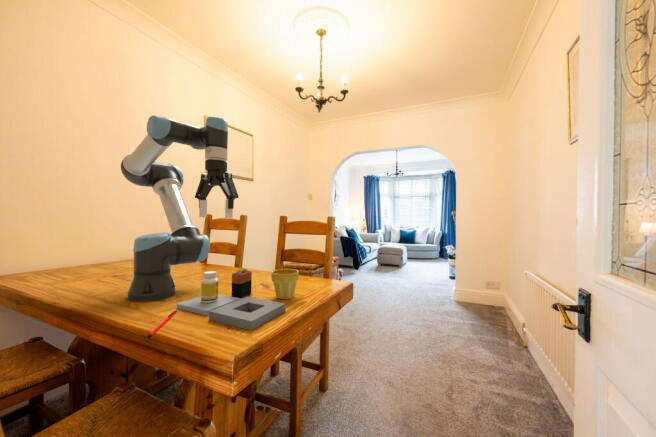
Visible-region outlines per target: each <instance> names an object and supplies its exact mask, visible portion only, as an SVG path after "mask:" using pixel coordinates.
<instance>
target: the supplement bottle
mask: <svg viewBox="0 0 656 437" xmlns="http://www.w3.org/2000/svg"><path fill="white" fill-rule="evenodd" d="M218 294H219V278H218V277H217V271H216V270H215V271H214V270H212V271H211V270H210V271H209V270H208V271H204V272H203V278H202V279H201V282H200V296H201V302H203V303H211V302H215V301H217V300H218Z"/></svg>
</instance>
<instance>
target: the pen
mask: <svg viewBox="0 0 656 437" xmlns="http://www.w3.org/2000/svg"><path fill="white" fill-rule="evenodd" d="M177 313H178V310H174V311H172V312H171V313H170V314H169V315H167V317H166V318H165V319H164V320H163V321H162V322H161V323H159V324H158V325H157V327H155V328H154V329H153V330H152V331H151V332H150V333H149V334H148V335H147V337H146V340H148V339H150V338H152V337H153V336H154V335H155V334H156V333H157V332H158V331H160V330H161V328H162V327H164V326H165V325H166V324H167V323H168V322H169V321H170V320H171V319H172V318H173V317H174V316H175V315H176V314H177Z"/></svg>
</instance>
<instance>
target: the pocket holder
mask: <svg viewBox="0 0 656 437" xmlns="http://www.w3.org/2000/svg"><path fill="white" fill-rule="evenodd" d="M247 311H251V312H247ZM285 312H286V303H285V302H279V301H272V300H268V299H263V298H262V299H261V298H257V297H251V296H246V297H243V298H241V299H240V300H237V301H235V302H232V303H229V304H227V305H224V306H222V307H219V308H217V309H214V310H211V311H209V315H208V321H212V322H216V323H220V324H224V325H228V326H233V327H235V328H240V329H241V328H242V329H244V330H245V329H246V330H250V331H253V330H255V329H257V328H258V327H260V326H262V325H263V324H265V323H268V322H269V321H271V320H273V319H274V318H276V317H278V316H279V315H281V314H283V313H285Z"/></svg>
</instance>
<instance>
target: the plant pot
mask: <svg viewBox="0 0 656 437" xmlns="http://www.w3.org/2000/svg"><path fill="white" fill-rule="evenodd" d="M299 273H300V272H299V270H298V269H294V268H280V269H275V270H272V271H271V273H270V274H271V282H273V287H274V292H275V296H276V298H277V299H280V300H289V299H292V298H294V297H295V292H296V287H297V281H299V279H300V278H299V275H300V274H299Z"/></svg>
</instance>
